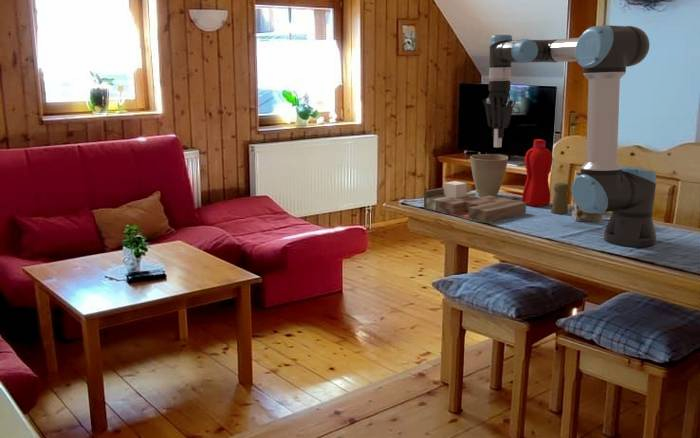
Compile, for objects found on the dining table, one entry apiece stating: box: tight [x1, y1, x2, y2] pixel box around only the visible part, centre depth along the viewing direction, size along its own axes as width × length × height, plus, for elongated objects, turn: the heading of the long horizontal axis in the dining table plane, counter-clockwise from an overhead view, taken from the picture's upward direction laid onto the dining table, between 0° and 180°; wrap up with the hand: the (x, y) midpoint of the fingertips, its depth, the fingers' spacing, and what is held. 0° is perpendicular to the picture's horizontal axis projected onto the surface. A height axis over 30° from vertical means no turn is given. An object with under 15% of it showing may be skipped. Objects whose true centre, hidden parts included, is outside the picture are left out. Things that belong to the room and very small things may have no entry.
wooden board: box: [423, 187, 527, 224], centre depth 262 cm, size 30×22×6 cm
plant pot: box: [469, 153, 509, 197], centre depth 286 cm, size 15×15×16 cm
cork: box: [550, 182, 570, 216], centre depth 258 cm, size 6×6×11 cm
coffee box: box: [571, 172, 603, 223], centre depth 247 cm, size 9×6×16 cm
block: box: [443, 180, 468, 198], centre depth 268 cm, size 6×6×5 cm
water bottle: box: [521, 138, 554, 208], centre depth 270 cm, size 9×11×25 cm
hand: (497, 146), depth 255 cm, fingers closed
